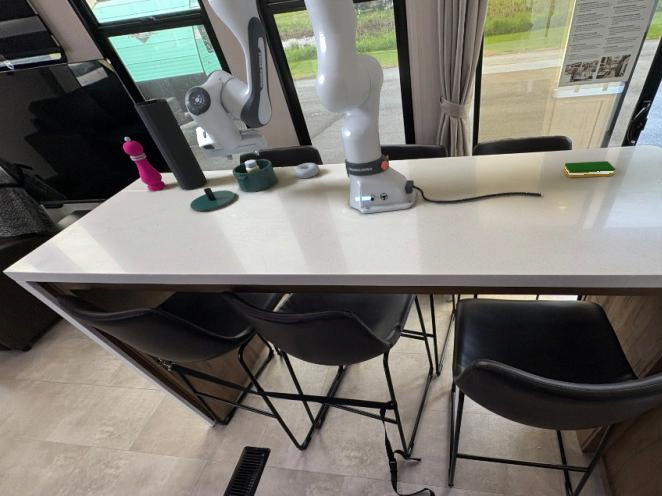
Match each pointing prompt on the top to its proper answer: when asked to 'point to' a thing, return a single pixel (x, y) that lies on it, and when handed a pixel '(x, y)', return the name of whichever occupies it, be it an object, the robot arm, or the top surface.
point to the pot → (255, 176)
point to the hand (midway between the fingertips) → (243, 155)
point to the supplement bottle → (251, 166)
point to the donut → (306, 170)
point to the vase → (171, 142)
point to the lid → (212, 200)
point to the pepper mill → (144, 165)
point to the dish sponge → (588, 168)
